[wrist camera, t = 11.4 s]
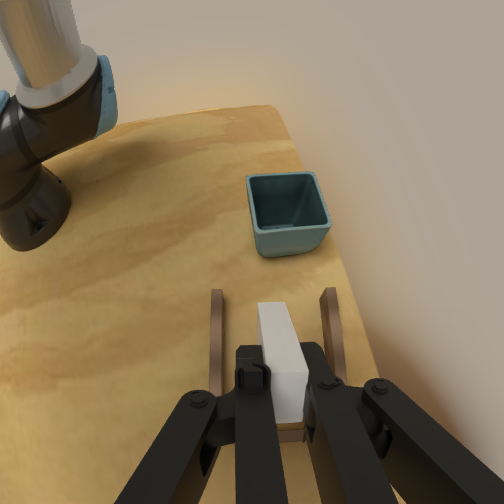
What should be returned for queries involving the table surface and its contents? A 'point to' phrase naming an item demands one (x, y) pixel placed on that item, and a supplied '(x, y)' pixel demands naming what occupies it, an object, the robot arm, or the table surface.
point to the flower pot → (287, 212)
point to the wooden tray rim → (331, 343)
